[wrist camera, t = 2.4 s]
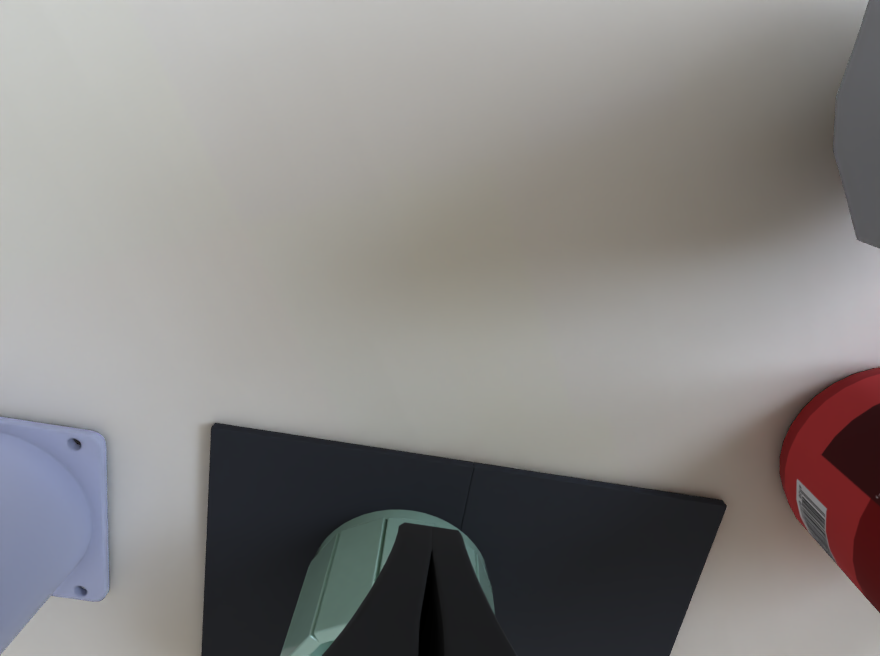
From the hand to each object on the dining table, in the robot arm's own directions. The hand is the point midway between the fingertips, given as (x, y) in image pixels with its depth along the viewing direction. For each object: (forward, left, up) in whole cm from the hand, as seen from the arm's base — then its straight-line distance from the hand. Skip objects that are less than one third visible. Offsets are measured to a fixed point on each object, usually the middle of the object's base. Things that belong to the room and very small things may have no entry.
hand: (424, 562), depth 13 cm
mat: (+2, -15, -9) cm, 18 cm away
